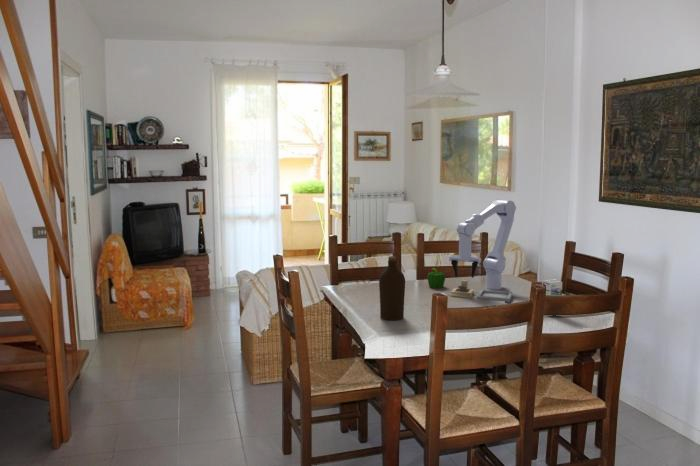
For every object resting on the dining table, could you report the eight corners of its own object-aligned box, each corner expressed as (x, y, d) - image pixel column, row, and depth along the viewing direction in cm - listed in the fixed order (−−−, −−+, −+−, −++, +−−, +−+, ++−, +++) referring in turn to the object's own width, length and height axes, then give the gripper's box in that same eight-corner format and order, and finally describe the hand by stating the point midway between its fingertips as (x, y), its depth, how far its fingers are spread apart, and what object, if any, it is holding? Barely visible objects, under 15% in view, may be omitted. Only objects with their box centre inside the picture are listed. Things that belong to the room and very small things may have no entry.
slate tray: (480, 293, 294) (480, 289, 294) (512, 295, 289) (512, 291, 289) (476, 300, 280) (476, 296, 280) (509, 302, 276) (509, 298, 275)
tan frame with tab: (455, 290, 296) (455, 279, 295) (474, 292, 293) (474, 280, 292) (450, 296, 285) (451, 284, 284) (470, 297, 282) (470, 285, 281)
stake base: (452, 292, 297) (452, 282, 296) (477, 294, 293) (477, 283, 292) (447, 298, 285) (447, 287, 285) (473, 299, 281) (474, 289, 281)
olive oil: (393, 322, 245) (394, 260, 241) (373, 317, 252) (373, 257, 249) (410, 317, 252) (410, 256, 249) (390, 312, 260) (390, 253, 256)
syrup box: (549, 317, 252) (550, 282, 250) (541, 313, 257) (542, 279, 255) (561, 316, 253) (563, 281, 251) (553, 312, 259) (554, 278, 257)
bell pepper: (447, 289, 303) (448, 269, 302) (433, 291, 300) (433, 270, 299) (439, 286, 311) (439, 266, 309) (424, 287, 308) (425, 267, 306)
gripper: (448, 248, 289) (447, 277, 291) (479, 250, 284) (478, 279, 286) (450, 246, 295) (450, 274, 297) (481, 248, 291) (480, 276, 292)
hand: (464, 276), depth 292 cm, fingers open, 7 cm apart
